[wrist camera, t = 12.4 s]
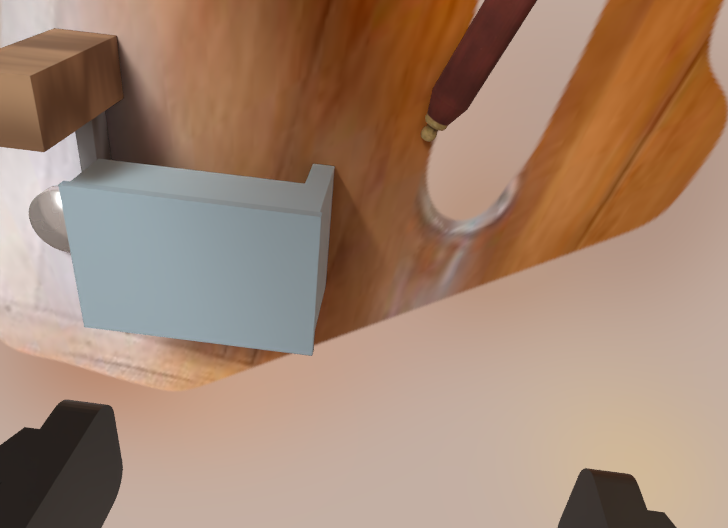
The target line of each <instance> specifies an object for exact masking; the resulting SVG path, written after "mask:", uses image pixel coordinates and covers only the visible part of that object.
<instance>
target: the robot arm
mask: <svg viewBox="0 0 728 528" xmlns="http://www.w3.org/2000/svg"><path fill="white" fill-rule="evenodd" d="M122 468H123V466H122V458H121V453H120V446H119V440H118V434H117V429H116V422H115V417H114V411H113V409H112V407H111V406H109V405H104V404H96V403H88V402H81V401H73V400H63V401H62V402H60V403H59V404H58V405H57V406H56V407H55V409H54V410H53V411H52V413H51V414H50V416H49V417H48V418H47V420H46V421H45V423H44V424H43V425H42V427H41V428H40V429H34V428H26V427H24V428H23V429H22V430H21V431H19V432H18V433H17V434H15V435H14V436H12V437H11V438H9V439H8V440H7V441H6V442H4V443H3V444H1V445H0V528H101V527H102V525H103V523H104V521H105V519H106V518H107V516H108V513H109V512H110V510H111V508H112V506H113V504H114V501H115V499H116V497H117V494H118V491H119V487H120V484H121V479H122V470H123V469H122ZM558 528H676V527H675V525H674V524H673V523H672V522H671V520H670V519H669V518H668V517H667V515H666V514H665V513H663V512H657V511H649V510H647V508H646V505H645V502H644V500H643V497H642V494H641V492H640V489H639V486H638V484H637V482H636V480H635V478H634V477H633V476H632V475H630V474H625V473H617V472H610V471H601V470H594V469H583V470H582V471H581V472H580V474H579V476H578V478H577V481H576V483H575V486H574V488H573V490H572V493H571V495H570V497H569V500H568V502H567V505H566V507H565V509H564V512H563V514H562V517H561V519H560V522H559V525H558Z"/></svg>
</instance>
